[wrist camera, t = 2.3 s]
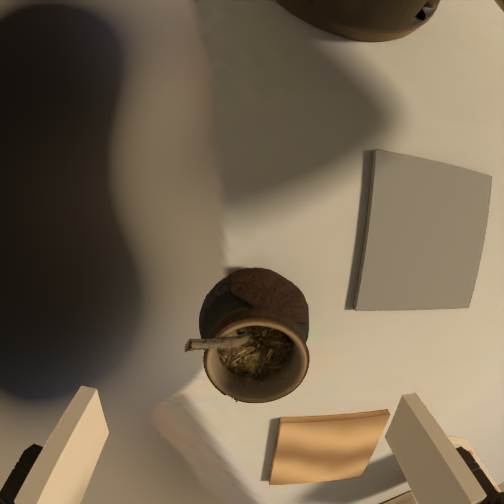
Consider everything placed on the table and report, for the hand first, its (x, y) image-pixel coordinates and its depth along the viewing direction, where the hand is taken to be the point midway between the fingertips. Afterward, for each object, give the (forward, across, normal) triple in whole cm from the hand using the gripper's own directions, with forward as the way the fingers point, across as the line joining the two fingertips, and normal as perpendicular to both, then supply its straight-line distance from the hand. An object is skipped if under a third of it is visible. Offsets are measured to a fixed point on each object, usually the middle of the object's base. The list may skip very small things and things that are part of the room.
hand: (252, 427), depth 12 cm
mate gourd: (+12, 0, 0) cm, 12 cm away
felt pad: (+12, +14, +6) cm, 20 cm away
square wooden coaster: (+12, +9, -17) cm, 23 cm away
